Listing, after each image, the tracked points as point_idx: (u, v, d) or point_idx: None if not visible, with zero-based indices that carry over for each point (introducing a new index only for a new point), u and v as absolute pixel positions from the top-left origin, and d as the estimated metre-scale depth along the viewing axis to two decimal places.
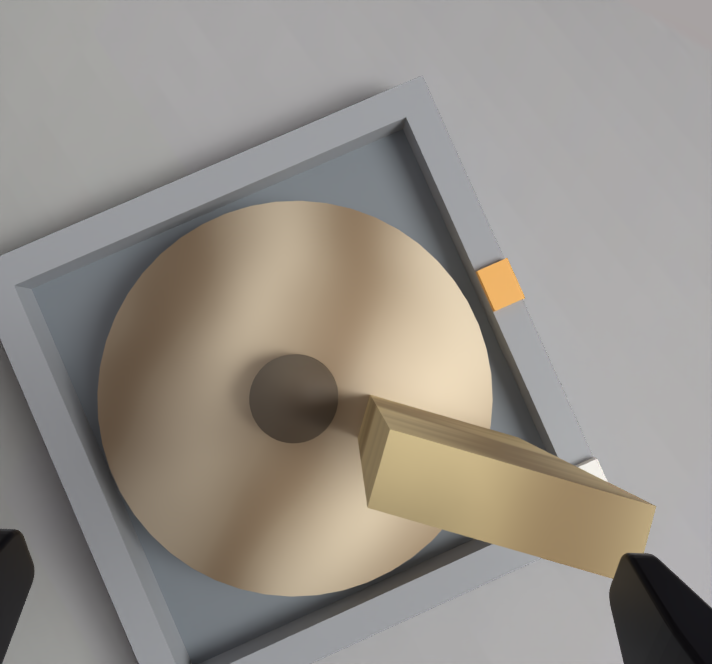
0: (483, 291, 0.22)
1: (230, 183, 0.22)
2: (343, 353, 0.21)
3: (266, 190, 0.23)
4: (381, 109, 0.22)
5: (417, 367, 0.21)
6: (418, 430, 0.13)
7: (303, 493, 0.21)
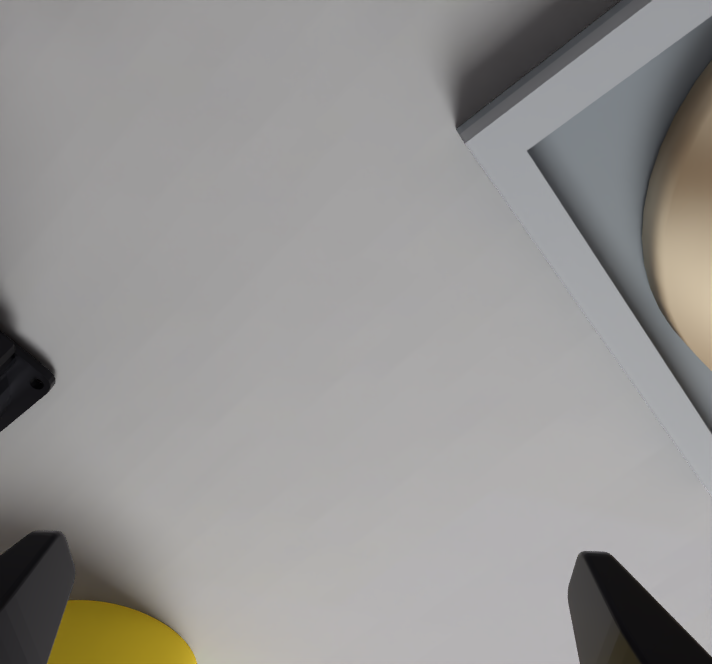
0: None
1: None
2: None
3: None
4: None
5: None
6: None
7: None
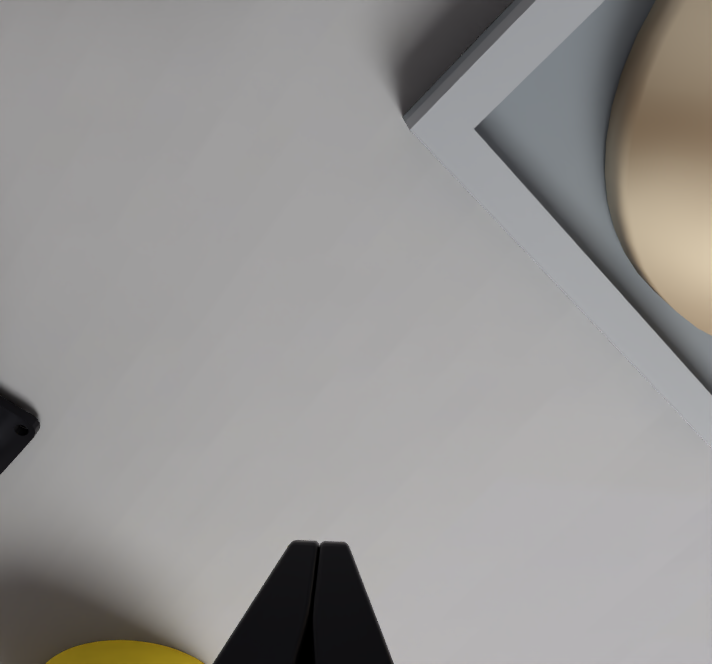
0: None
1: None
2: None
3: None
4: None
5: None
6: None
7: None
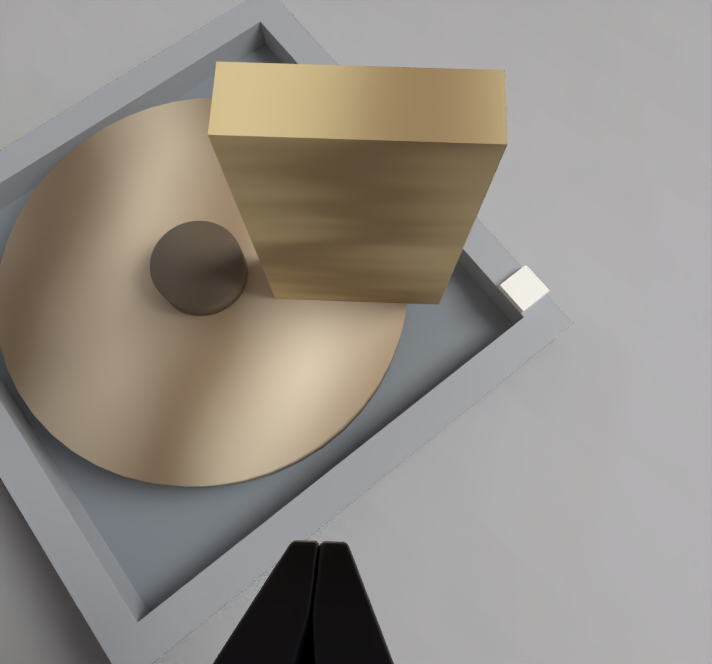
0: None
1: (107, 108, 0.23)
2: (243, 223, 0.21)
3: None
4: (236, 20, 0.24)
5: None
6: None
7: (230, 367, 0.19)
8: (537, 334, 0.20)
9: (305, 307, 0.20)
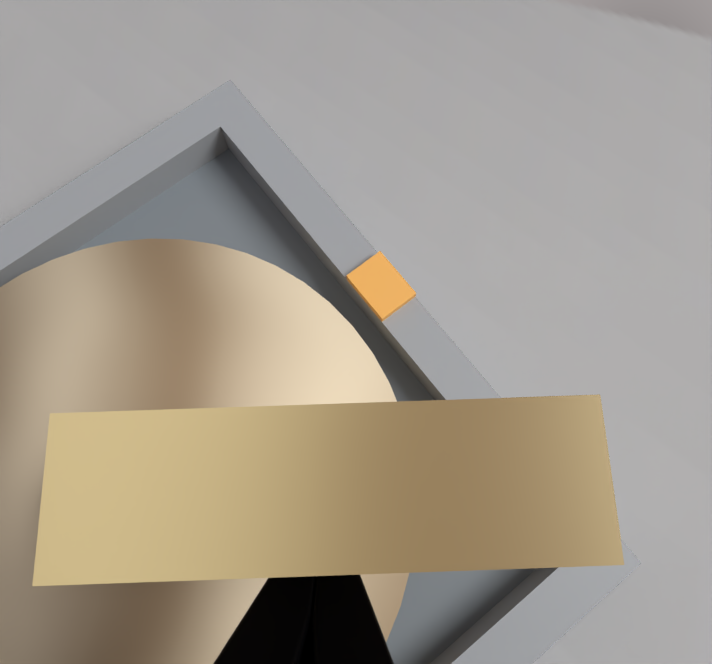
0: (363, 300, 0.17)
1: (15, 248, 0.17)
2: None
3: None
4: (189, 125, 0.18)
5: None
6: None
7: (178, 638, 0.14)
8: (592, 578, 0.15)
9: None
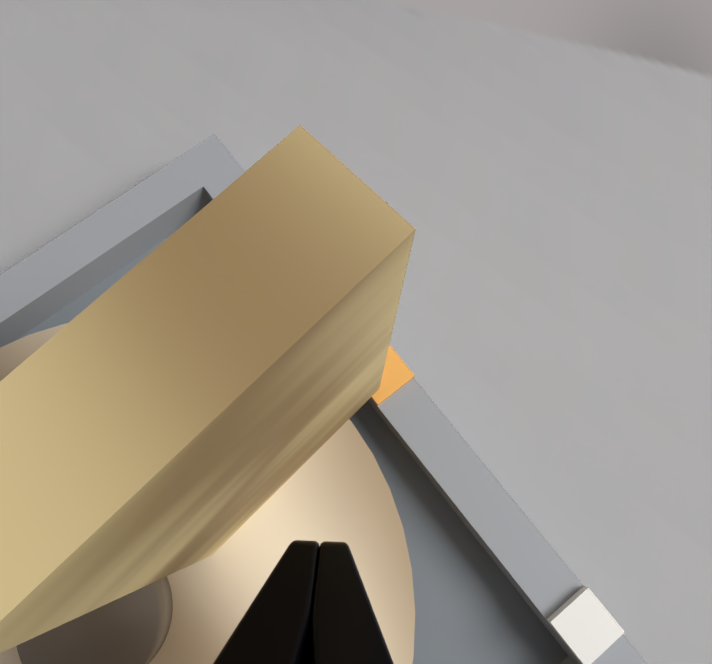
0: None
1: None
2: None
3: (47, 323, 0.17)
4: (169, 184, 0.17)
5: None
6: None
7: None
8: None
9: (253, 530, 0.14)
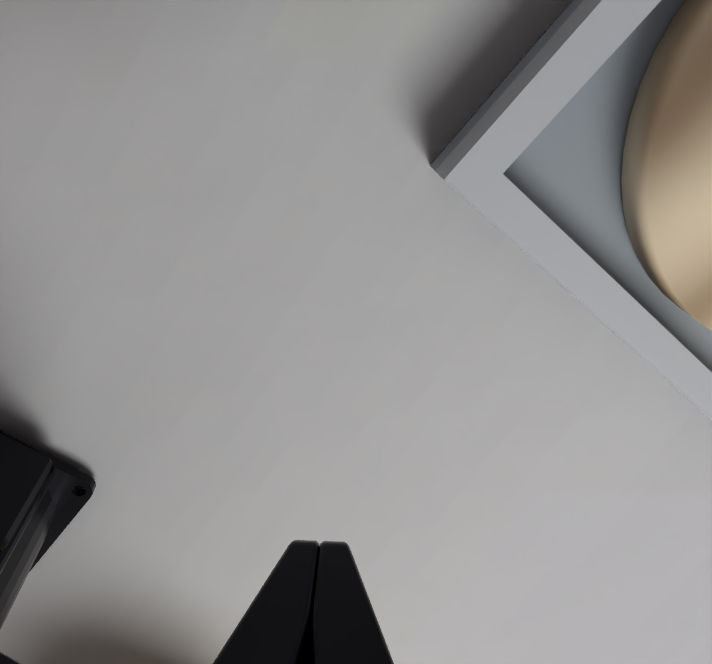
0: None
1: None
2: None
3: None
4: None
5: None
6: None
7: None
8: None
9: None
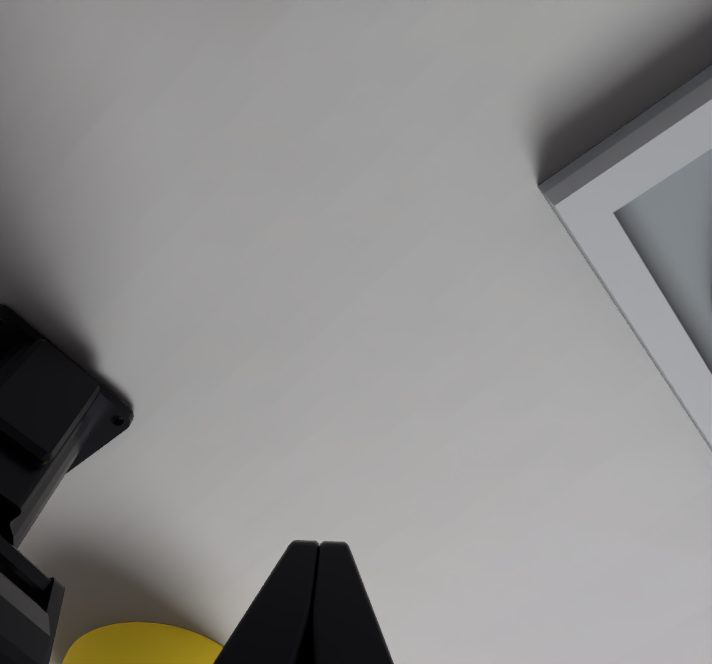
0: None
1: None
2: None
3: None
4: None
5: None
6: None
7: None
8: None
9: None
